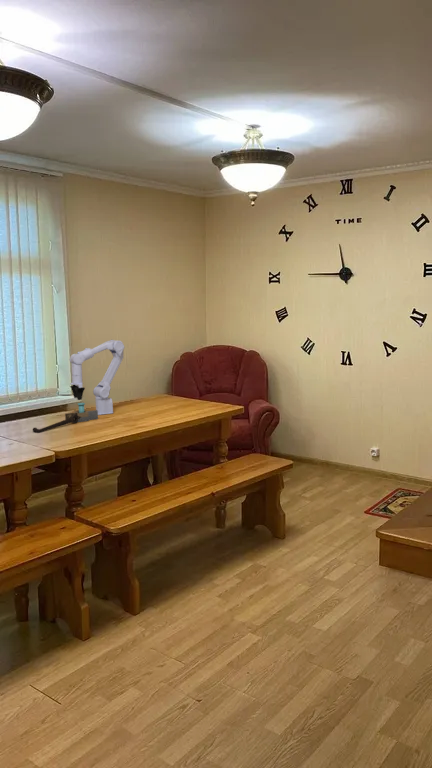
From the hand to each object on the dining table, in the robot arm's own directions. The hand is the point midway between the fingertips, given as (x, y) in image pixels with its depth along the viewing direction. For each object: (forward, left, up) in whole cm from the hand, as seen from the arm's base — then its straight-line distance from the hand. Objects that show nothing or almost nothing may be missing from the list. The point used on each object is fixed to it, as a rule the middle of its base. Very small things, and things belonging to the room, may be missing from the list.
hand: (77, 398), depth 355 cm
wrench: (+17, +21, -11) cm, 29 cm away
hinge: (+1, +12, -10) cm, 16 cm away
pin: (+1, +12, -10) cm, 16 cm away
